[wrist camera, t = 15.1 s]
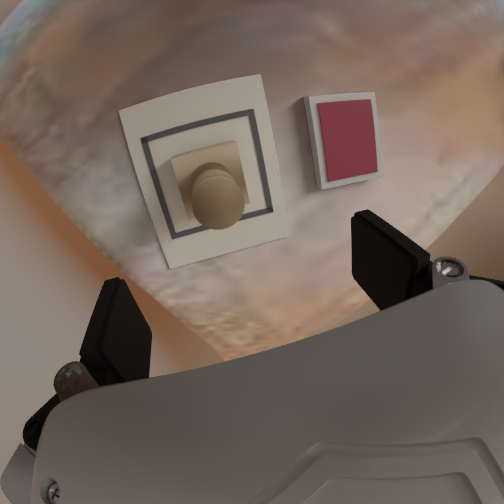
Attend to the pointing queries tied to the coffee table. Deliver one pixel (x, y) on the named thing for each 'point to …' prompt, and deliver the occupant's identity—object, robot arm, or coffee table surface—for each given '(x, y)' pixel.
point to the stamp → (212, 184)
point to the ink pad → (344, 138)
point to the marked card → (199, 136)
